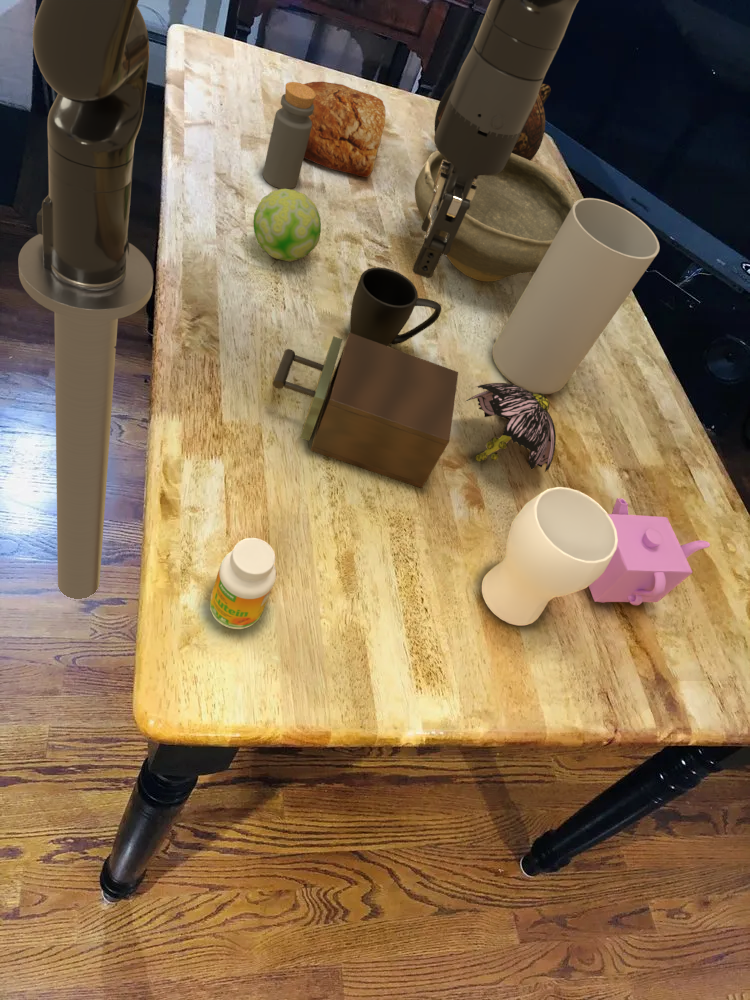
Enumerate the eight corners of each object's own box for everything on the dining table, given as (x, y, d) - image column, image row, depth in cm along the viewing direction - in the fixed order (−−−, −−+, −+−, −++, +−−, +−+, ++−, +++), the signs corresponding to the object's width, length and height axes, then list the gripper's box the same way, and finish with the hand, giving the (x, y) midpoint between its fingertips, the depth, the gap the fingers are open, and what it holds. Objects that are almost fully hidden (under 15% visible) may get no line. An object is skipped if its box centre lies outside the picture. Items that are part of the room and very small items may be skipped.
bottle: (260, 182, 124) (279, 92, 113) (264, 164, 128) (284, 75, 117) (295, 193, 125) (317, 105, 114) (298, 175, 129) (321, 88, 118)
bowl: (513, 221, 143) (549, 151, 132) (569, 321, 128) (615, 252, 118) (377, 201, 132) (404, 124, 121) (421, 308, 117) (456, 230, 107)
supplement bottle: (199, 616, 75) (214, 564, 68) (223, 575, 78) (239, 521, 71) (249, 639, 75) (269, 590, 68) (270, 597, 79) (291, 546, 71)
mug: (419, 373, 108) (444, 322, 100) (338, 350, 105) (358, 296, 98) (420, 337, 113) (444, 285, 106) (343, 313, 110) (362, 259, 103)
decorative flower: (606, 439, 96) (523, 405, 88) (552, 508, 101) (468, 482, 93) (550, 381, 106) (471, 346, 98) (503, 447, 111) (424, 418, 103)
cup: (544, 563, 93) (609, 490, 82) (560, 642, 87) (634, 574, 76) (464, 552, 90) (521, 474, 79) (475, 632, 84) (539, 560, 73)
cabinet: (310, 450, 92) (329, 399, 86) (330, 383, 101) (349, 332, 94) (421, 488, 94) (449, 441, 88) (432, 419, 103) (458, 371, 96)
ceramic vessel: (421, 181, 141) (489, 9, 119) (416, 135, 152) (477, -32, 129) (523, 212, 147) (606, 52, 124) (511, 164, 157) (585, 9, 135)
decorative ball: (261, 276, 110) (275, 216, 102) (238, 233, 114) (250, 172, 107) (322, 275, 114) (340, 217, 107) (298, 233, 119) (314, 175, 111)
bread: (368, 185, 134) (386, 131, 127) (267, 152, 130) (280, 94, 123) (373, 131, 147) (390, 79, 140) (281, 99, 143) (293, 44, 136)
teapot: (647, 533, 102) (692, 490, 95) (685, 620, 95) (737, 581, 88) (531, 528, 96) (570, 481, 89) (563, 621, 89) (608, 578, 81)
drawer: (259, 424, 91) (271, 381, 86) (281, 364, 99) (294, 321, 93) (403, 473, 94) (424, 434, 88) (414, 411, 101) (434, 372, 96)
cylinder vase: (478, 337, 117) (557, 193, 99) (544, 339, 122) (630, 203, 104) (509, 396, 111) (599, 254, 92) (577, 396, 116) (676, 262, 97)
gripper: (457, 64, 75) (401, 207, 87) (444, 125, 66) (384, 276, 78) (526, 94, 76) (461, 231, 88) (522, 158, 67) (451, 302, 79)
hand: (425, 252), depth 83 cm, fingers open, 8 cm apart
